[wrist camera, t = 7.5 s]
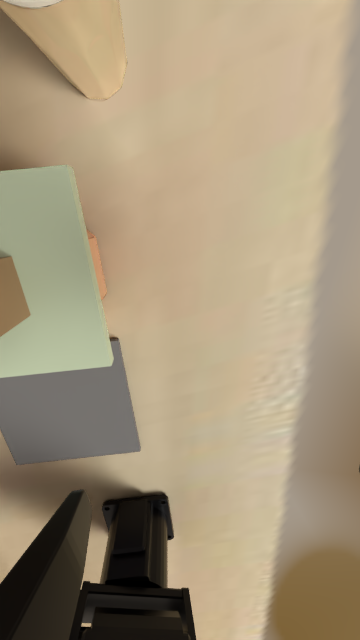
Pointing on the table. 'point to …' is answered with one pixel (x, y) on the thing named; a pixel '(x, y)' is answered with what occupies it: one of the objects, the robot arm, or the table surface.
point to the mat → (69, 413)
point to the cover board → (47, 277)
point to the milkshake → (77, 40)
